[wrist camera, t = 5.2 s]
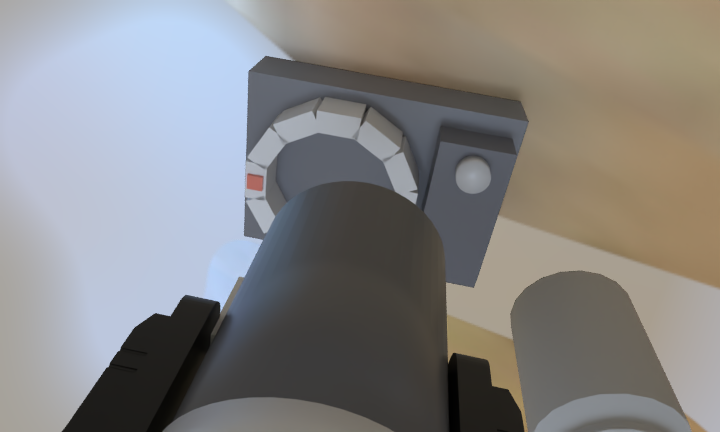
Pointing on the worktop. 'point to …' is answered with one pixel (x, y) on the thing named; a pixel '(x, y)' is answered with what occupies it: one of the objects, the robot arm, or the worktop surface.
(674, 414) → the can
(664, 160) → the worktop surface
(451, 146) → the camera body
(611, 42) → the worktop surface
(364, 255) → the lens
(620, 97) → the worktop surface
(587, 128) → the worktop surface
